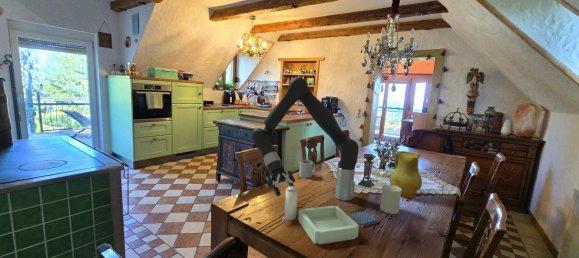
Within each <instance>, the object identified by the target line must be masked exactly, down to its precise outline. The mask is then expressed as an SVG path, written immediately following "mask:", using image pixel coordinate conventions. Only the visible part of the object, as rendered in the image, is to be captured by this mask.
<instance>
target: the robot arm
mask: <svg viewBox="0 0 579 258" xmlns="http://www.w3.org/2000/svg"><path fill="white" fill-rule="evenodd" d="M297 101H300V102H301V104H303V106H304V108H305V109H306V111H307V112H308V114H309V115H310V117H311V118H312V119H313V120H314V122H315V123H316V124H317V125H318V126H319V128H320V129H321V130H322V131H324V133H325V134H326V135H328V137H329V138H330V139H331V140H332V142H333V143H334V144H335V146H336V147H337V150H338V151H339V152H340V160H339V161H338V162H337V170H336V180H335V181H336V182H335V192H334V193H335V195H334V197H335V198H336V199H338V200H340V201H345V202H348V201H352V199H353V200H354V199H355V198H354V197H355V188H356V181H354V180H355V172H356V166H357V163H358V159H359V144H358V142H357V141H356V140H354V139H353V138H351V137H350V136H348V135H347V134H346V133H345V132H344V131H343V130H342V128H341V127H340V125H339V123H338V121H337V119H336V118H335V116H334V114H333V113H332V112H331V110H329V109H328V107H327V106H326V105H325V104H324V103H323V101H321V100H320V99H318V98H317V97H316V96H315V95H314V93H313V92H312V91H311V88H309V85H308V82H307V80H306V79H305V78H303V77H299V76H296V77H293V78H292V79H290V81H289V83H288V88H287V91H286V93H285V94H284V95H283V97H282V98H281V100H280V101H279V102H278V103H277V104H276V105H275V106H274V107H273V109H271V111H270V112H269V113H268V115H267V116H266V117H265V118H264V121H263V123H264V125H265V126H264V127H263V128H260V127H255V128H254V129H253V131H252V132H251V138H252V141H253V143H254V144H255V146H256V148H257V149H258V150H259V152H260V153H261V157H262V159H263V161H264V164H265V167H266V168H267V171H268V174H267V175H266V177H265V181H266V184H267V187H268V189H269V190H273V191H274V193H275V195H276V196H277V197H280V196H281V195H282V193H281V191H280V188H279V187H278V184H280V183H281V184H282V183H284V184H287V185H288V186H295V185H294V183H295V182H296V179H295V177H294V174H293V173H292V171H291V170H288V171H285V168H284V165H283V162H282V160H281V159H280V156H279V155H278V152H277V151H276V148H275V147H274V144H272V142H270V140H271V139H272V137H273V135H274V132H275V130H276V128H277V127H278V126H279V124H280V123H281V122H282V121H283V119H284V118H285V116H286V115H287V113H288V112H289V111H290V110H291V108H292V107H293V106H294V105H295V103H297ZM272 180H273V181H272Z"/></svg>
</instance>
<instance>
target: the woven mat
mask: <svg viewBox="0 0 579 258" xmlns="http://www.w3.org/2000/svg"><path fill="white" fill-rule="evenodd" d="M347 215H348V216H349V217H350V218H351V219H352V220H353V221H354V222H356V223H357V224H358V225H359V227H361V228H364V227H367V226H371V225H374V224H378V223H379V219H377V218H376V217H374V216H372V215H371V214H370V213H367V212H366V211H365V210H361V211H358V212H353V213H348V214H347Z"/></svg>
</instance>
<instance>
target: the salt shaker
mask: <svg viewBox="0 0 579 258" xmlns="http://www.w3.org/2000/svg"><path fill="white" fill-rule="evenodd" d="M298 193H299V192H298V189H297V187H296V186H295V185H294V186H289V185H288V186H287V187H286V189H285V201H284V213H283V214H284V216H283V217H284V218H285V220H288V221H293V220H296V219H297V209H298V206H297V205H298Z"/></svg>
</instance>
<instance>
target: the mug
mask: <svg viewBox="0 0 579 258" xmlns="http://www.w3.org/2000/svg"><path fill="white" fill-rule="evenodd" d="M298 170H299V174H298V176H299V177H300V178H302V179H311V178H312V177H313V174H314V173H315V171H316V164H315V163H314V162H313V161H312V160H309V159H301V160H300V161H299V169H298Z"/></svg>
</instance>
